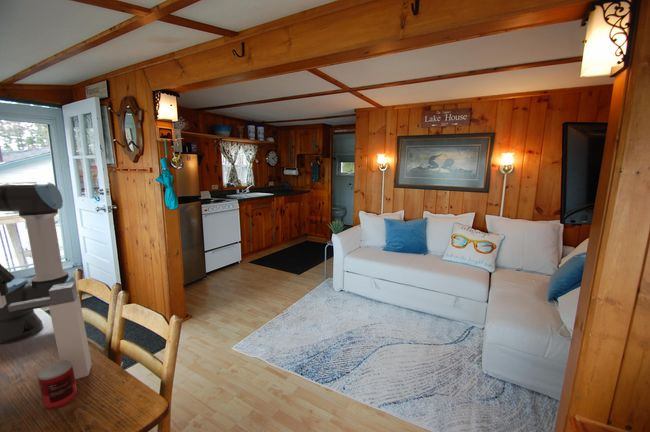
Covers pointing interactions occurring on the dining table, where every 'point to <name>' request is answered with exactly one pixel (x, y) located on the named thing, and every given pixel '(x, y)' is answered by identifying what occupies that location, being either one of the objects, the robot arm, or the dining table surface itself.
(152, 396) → the dining table surface
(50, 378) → the canned food
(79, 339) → the stand
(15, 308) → the steel bar
